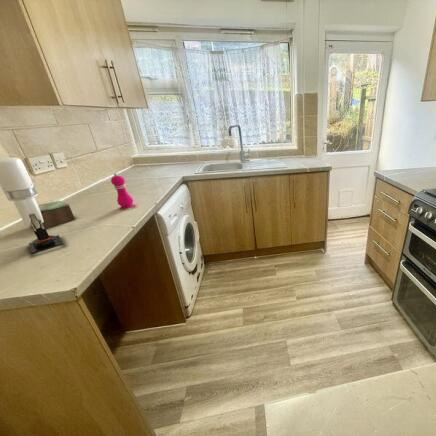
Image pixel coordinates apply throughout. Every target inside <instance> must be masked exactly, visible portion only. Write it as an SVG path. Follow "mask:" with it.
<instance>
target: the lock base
mask: <svg viewBox="0 0 436 436" xmlns="http://www.w3.org/2000/svg"><path fill="white" fill-rule="evenodd" d="M49 237H50V239H49V240H47V241H43V242H38V241H37V240H38V239H37V238H36V239H34V240H33V241H31V242H29V243H28V247H29V251H30V254H31V255H34V254H37V253H41V252H44V251H47V250H50V249H53V248H57V247H60V246H63V245H64V242H63V240H62V239H61V237H60V235H59V234H58V235H53V234H50V235H49Z"/></svg>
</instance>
